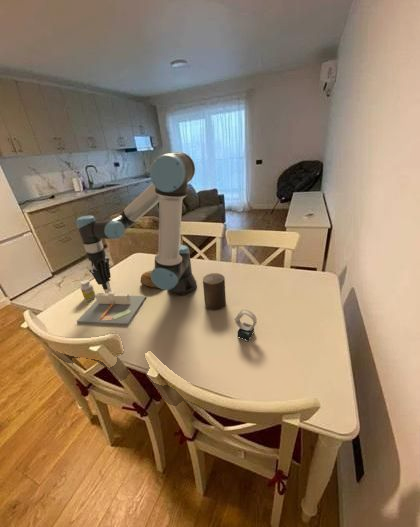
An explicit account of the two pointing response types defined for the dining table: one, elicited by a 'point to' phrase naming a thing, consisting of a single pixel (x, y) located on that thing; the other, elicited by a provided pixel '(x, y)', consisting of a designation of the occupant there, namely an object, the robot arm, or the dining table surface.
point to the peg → (112, 299)
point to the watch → (245, 324)
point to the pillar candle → (214, 291)
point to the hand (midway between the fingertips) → (108, 293)
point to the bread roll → (147, 279)
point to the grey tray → (112, 312)
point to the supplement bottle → (87, 290)
